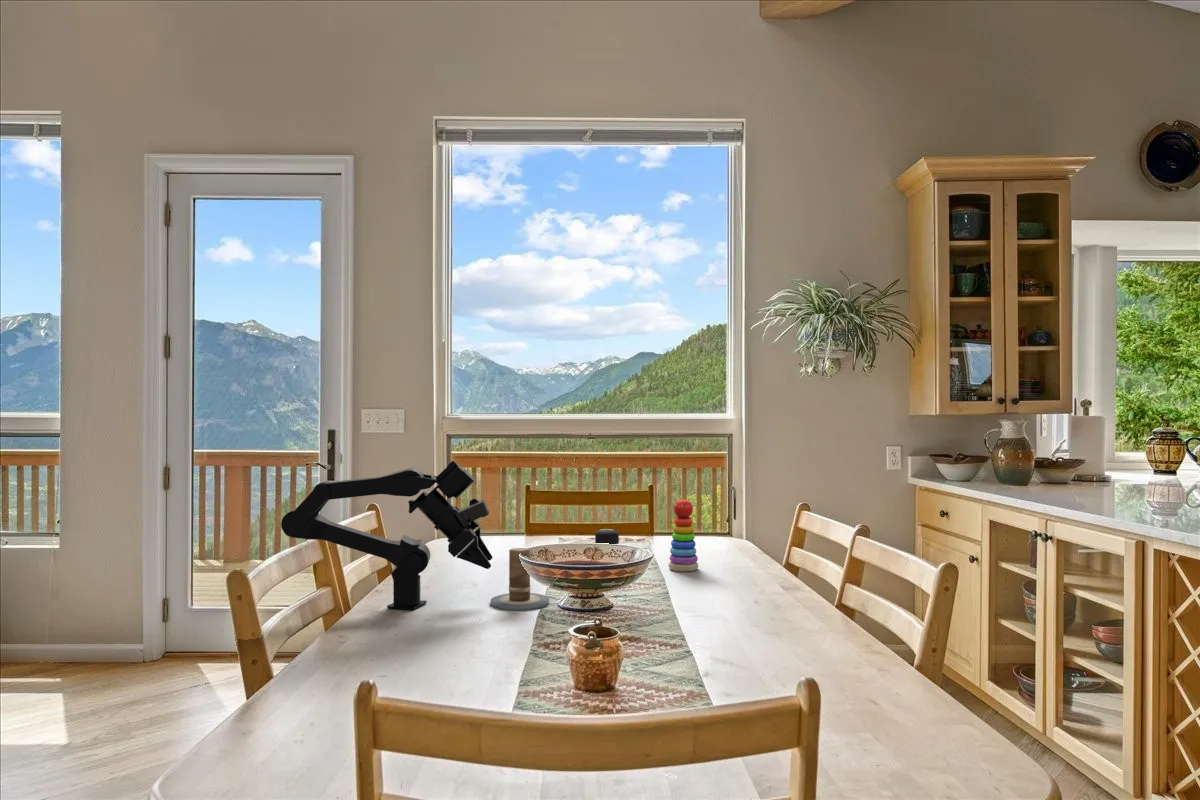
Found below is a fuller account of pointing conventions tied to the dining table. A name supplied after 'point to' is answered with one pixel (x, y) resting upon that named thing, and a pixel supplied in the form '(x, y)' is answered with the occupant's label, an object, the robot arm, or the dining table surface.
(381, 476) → the robot arm
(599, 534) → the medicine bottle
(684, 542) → the stacking toy
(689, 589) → the dining table surface
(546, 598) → the hub plate
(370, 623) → the dining table surface
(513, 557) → the brown cylinder
